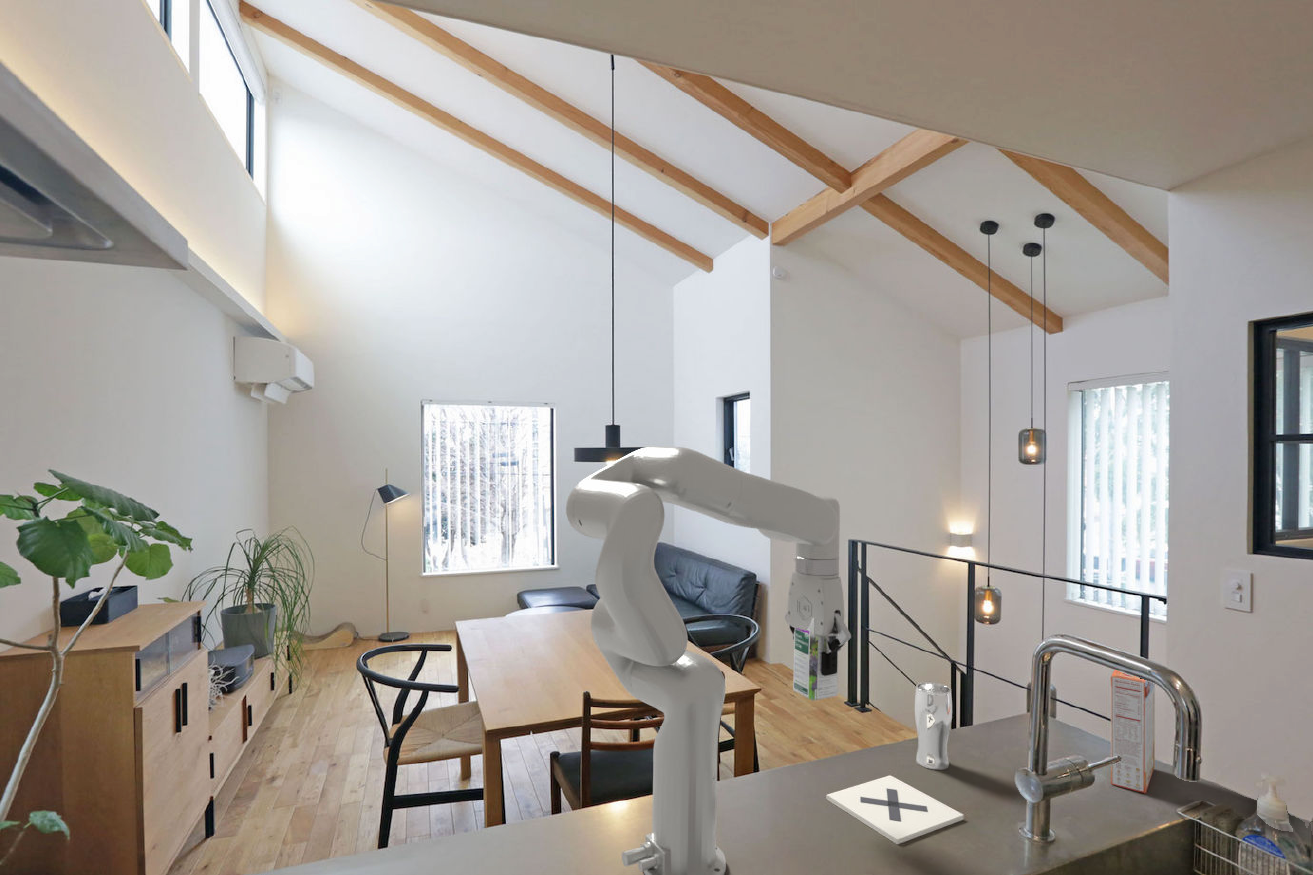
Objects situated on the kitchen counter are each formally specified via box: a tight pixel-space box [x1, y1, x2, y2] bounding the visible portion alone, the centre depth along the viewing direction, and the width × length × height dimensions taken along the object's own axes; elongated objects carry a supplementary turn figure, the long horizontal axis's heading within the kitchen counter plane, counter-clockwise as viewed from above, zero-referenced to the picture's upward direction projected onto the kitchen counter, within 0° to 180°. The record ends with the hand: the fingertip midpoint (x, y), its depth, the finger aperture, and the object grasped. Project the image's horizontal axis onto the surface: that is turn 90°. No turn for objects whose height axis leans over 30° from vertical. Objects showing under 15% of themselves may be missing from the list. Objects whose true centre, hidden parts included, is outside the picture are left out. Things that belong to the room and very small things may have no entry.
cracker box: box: [1110, 670, 1156, 794], centre depth 138 cm, size 14×6×21 cm, turn 139°
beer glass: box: [914, 681, 953, 771], centre depth 142 cm, size 7×7×15 cm
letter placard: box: [826, 774, 964, 845], centre depth 124 cm, size 16×16×1 cm
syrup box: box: [792, 617, 839, 701], centre depth 126 cm, size 6×6×14 cm
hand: (815, 667), depth 126 cm, fingers closed on syrup box, 5 cm apart
